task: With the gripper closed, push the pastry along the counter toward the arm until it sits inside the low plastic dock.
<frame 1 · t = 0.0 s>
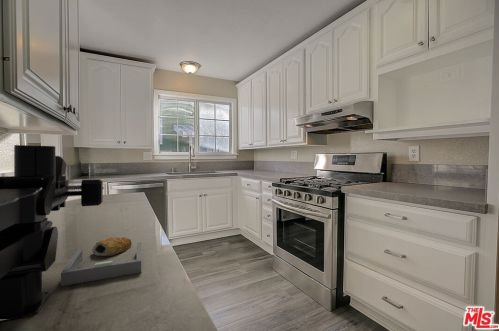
hand: (64, 190, 61), 17 cm above the countertop, tool horizontal, fingers open, 9 cm apart
dock: (107, 265, 54), on the countertop
pastry: (112, 252, 63), on the countertop
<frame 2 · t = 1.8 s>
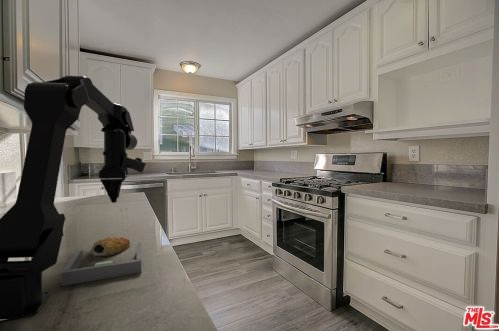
hand: (115, 200, 71), 12 cm above the countertop, tool pointing down, fingers open, 8 cm apart
nothing on the countertop moved.
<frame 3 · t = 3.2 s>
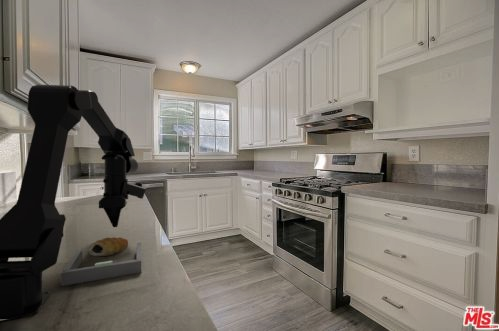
hand: (115, 226, 71), 4 cm above the countertop, tool pointing down, fingers closed
nothing on the countertop moved.
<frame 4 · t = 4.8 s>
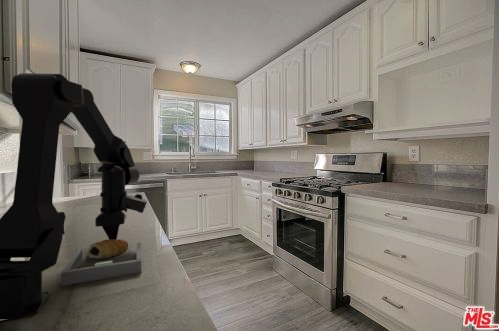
hand: (113, 243, 66), 1 cm above the countertop, tool pointing down, fingers closed
pastry: (107, 254, 62), on the countertop, touching gripper
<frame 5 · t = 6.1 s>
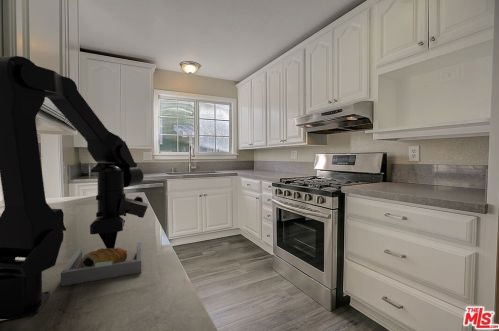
hand: (111, 251, 60), 1 cm above the countertop, tool pointing down, fingers closed
pastry: (103, 265, 55), on the countertop
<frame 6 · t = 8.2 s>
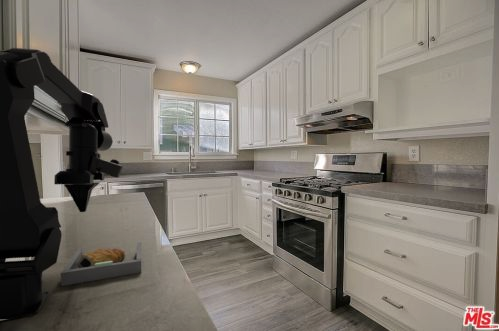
hand: (83, 211, 58), 12 cm above the countertop, tool pointing down, fingers closed
nothing on the countertop moved.
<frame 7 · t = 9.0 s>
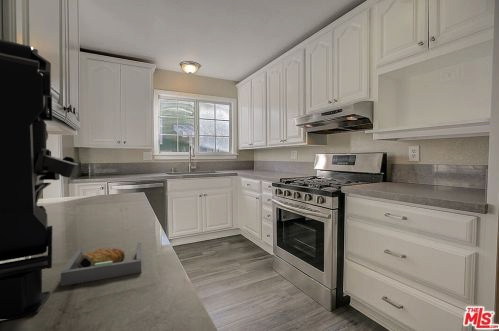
hand: (28, 216, 51), 12 cm above the countertop, tool pointing down, fingers closed
nothing on the countertop moved.
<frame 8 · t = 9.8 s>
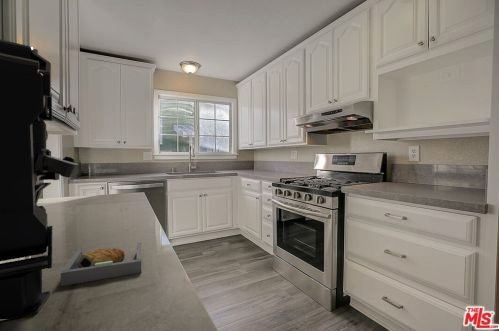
hand: (28, 216, 51), 12 cm above the countertop, tool pointing down, fingers closed
nothing on the countertop moved.
at the end: pastry inside the target area on the dock (2.3 cm from its centre), point -0.5 cm above the dock's base; pastry moved 9.0 cm from its start; the gripper is holding nothing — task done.
